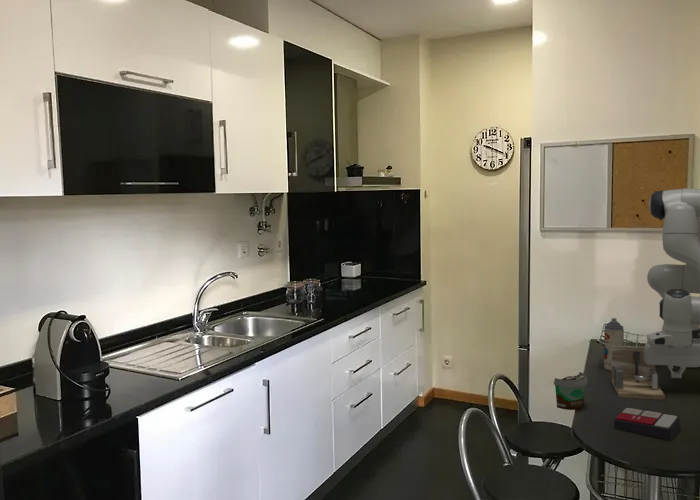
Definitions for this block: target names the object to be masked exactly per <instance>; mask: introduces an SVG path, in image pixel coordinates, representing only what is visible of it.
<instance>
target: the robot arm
mask: <svg viewBox="0 0 700 500" xmlns="http://www.w3.org/2000/svg"><path fill="white" fill-rule="evenodd" d="M648 210H649V212H650V214H651V216H652V217H654V218H655V219H658V220H659V221H663V225H662V248H663V251H664V253H666V255H668V256H669V257H670V258H671V259H673V260H676V261H679V262H681V263H683V264H675V263H673V264H672V263H669V264H668V263H665V264H664V263H663V264H657V265H653V266H651V268H649V270H648V272H647V277H646V278H647V279H646V281H647V284H648V285H649V287H650V288H651V289H652V290H653V291H655V292H656V293H657V294H658V295H659V296H660V297H661V300H660V301H659V318H660V319H662V320H663V324H662V328H661V329H662V330H659V331H656V332H652V333H649V334H646V335H647V336H646V339H647V342H645V344H644V346H643V347H644V352H643V360H644V362H645V363H646V364H648V365H655V366H667V369H668V370H669V371H670V377H671V378H672V379H682V375H683V373H684V372H685V370H686V368H699V367H700V296H692V295H691V294H697V295H700V188H688V187H687V188H686V187H685V188H678V189H677V188H676V189H669V190H668V189H667V190H663V189H662V190H658V191H655V192H653V193H652V194H651V195H650V199H649V200H648ZM663 219H664V220H663ZM674 366H675V367H679V370H678V371H673V369H674Z"/></svg>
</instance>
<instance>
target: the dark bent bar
mask: <svg viewBox="0 0 700 500" xmlns="http://www.w3.org/2000/svg"><path fill="white" fill-rule="evenodd" d="M639 353H640V352H634V355H636V358H635V375H636V376H638V355H639ZM637 381H639V380H637Z"/></svg>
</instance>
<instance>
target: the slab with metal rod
mask: <svg viewBox="0 0 700 500" xmlns="http://www.w3.org/2000/svg"><path fill="white" fill-rule="evenodd" d="M634 380H641V381H649V384H650V386H651V387H652V389H657V385H658V373H657V372H656V369H655V370H654V369H649V376H636V375H634Z"/></svg>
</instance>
